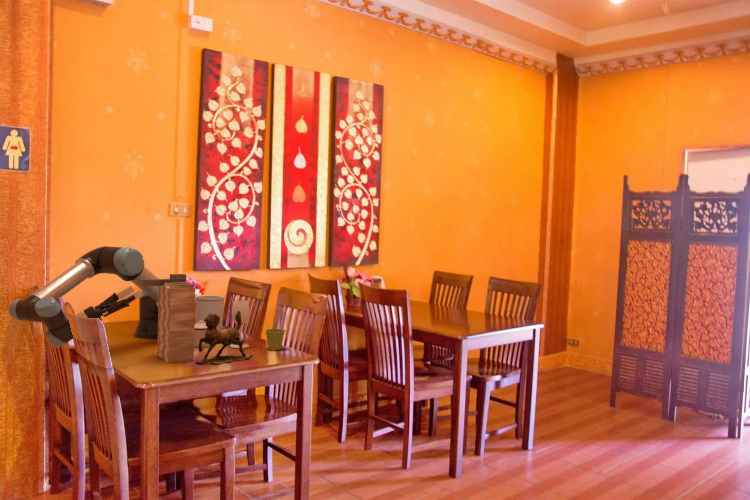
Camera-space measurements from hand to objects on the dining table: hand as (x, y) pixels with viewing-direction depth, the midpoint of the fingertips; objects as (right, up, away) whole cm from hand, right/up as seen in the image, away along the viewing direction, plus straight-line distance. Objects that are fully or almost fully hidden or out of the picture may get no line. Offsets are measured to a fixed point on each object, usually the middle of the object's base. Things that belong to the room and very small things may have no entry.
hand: (137, 290), depth 247 cm
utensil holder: (+9, -26, +76) cm, 80 cm away
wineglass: (+34, -29, +34) cm, 56 cm away
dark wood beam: (+8, +2, +7) cm, 11 cm away
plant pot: (+51, -29, +31) cm, 66 cm away
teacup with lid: (+16, -28, +33) cm, 46 cm away
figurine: (+34, -30, +5) cm, 46 cm away
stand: (+13, -29, +6) cm, 32 cm away
